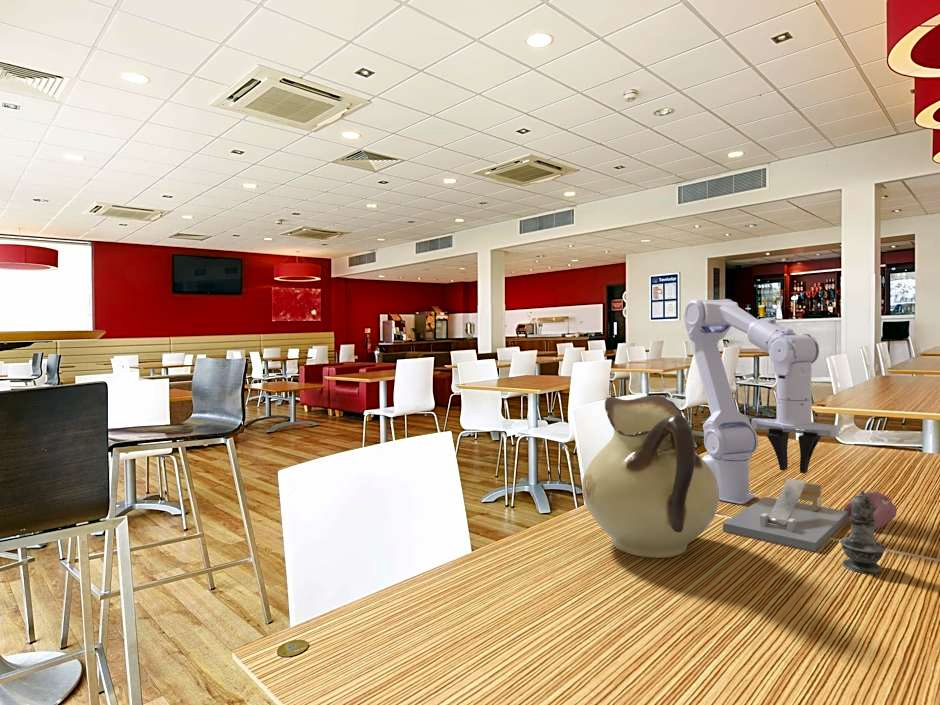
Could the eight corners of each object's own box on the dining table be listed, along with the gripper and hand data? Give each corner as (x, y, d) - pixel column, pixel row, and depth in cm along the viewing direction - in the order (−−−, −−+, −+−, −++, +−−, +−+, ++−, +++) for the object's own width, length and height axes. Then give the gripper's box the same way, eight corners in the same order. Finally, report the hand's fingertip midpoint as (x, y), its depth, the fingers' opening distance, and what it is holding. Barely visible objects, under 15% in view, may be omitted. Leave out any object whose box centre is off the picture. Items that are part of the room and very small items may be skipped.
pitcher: (626, 515, 118) (624, 390, 117) (748, 545, 101) (748, 400, 100) (557, 547, 102) (555, 404, 101) (689, 589, 85) (688, 417, 84)
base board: (723, 531, 108) (722, 513, 108) (765, 503, 124) (765, 488, 123) (815, 551, 97) (815, 532, 97) (848, 519, 113) (848, 502, 113)
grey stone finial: (878, 561, 93) (878, 486, 92) (891, 577, 87) (891, 496, 87) (835, 557, 95) (835, 483, 94) (845, 572, 89) (845, 494, 89)
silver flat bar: (768, 523, 106) (767, 519, 106) (788, 482, 114) (787, 477, 113) (786, 527, 104) (785, 523, 103) (805, 484, 112) (804, 480, 111)
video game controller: (886, 541, 106) (907, 507, 105) (861, 528, 106) (881, 495, 105) (863, 523, 115) (881, 492, 114) (839, 511, 116) (857, 480, 115)
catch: (786, 505, 117) (786, 483, 117) (791, 502, 119) (791, 480, 119) (817, 511, 113) (817, 488, 113) (821, 507, 115) (821, 484, 115)
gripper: (745, 398, 113) (745, 468, 113) (832, 404, 103) (831, 481, 103) (758, 394, 118) (758, 462, 118) (842, 400, 108) (842, 473, 108)
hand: (793, 470), depth 111 cm, fingers open, 3 cm apart
